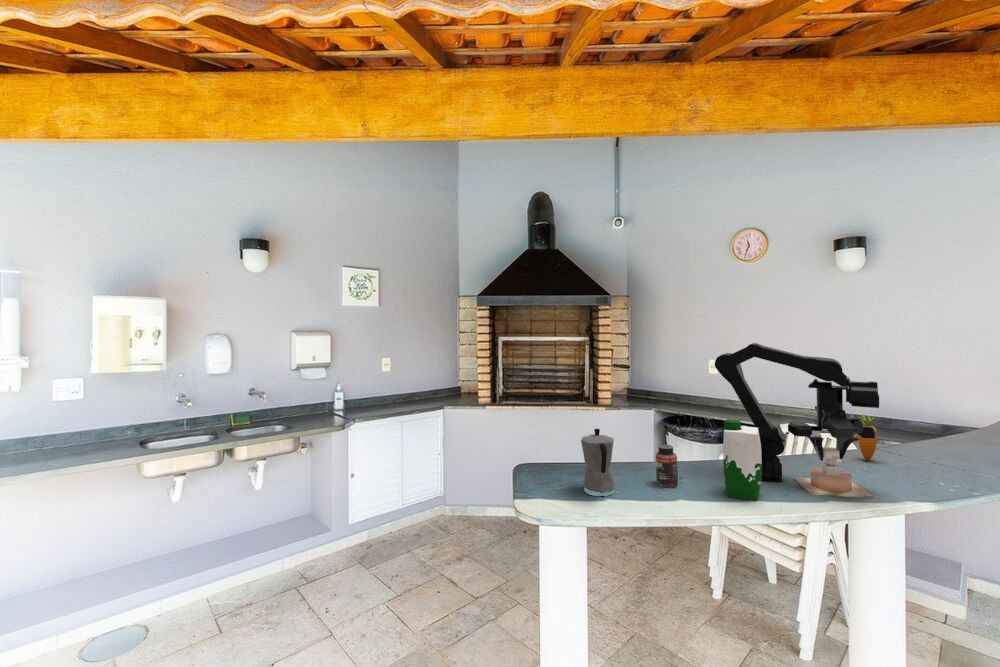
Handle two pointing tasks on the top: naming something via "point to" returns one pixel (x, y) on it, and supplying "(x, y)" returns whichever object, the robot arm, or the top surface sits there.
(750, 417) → the robot arm
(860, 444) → the carrot
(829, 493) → the birch board
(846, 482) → the soap jar
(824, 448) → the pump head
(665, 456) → the supplement bottle
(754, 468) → the milk carton
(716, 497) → the top surface
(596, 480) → the coffeepot
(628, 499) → the top surface
